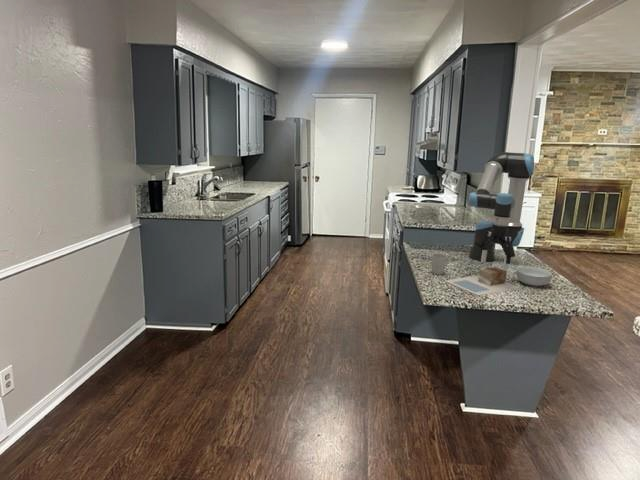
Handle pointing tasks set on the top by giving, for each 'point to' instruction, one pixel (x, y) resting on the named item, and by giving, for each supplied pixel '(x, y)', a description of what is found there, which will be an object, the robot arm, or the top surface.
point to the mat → (479, 286)
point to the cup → (438, 263)
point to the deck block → (492, 276)
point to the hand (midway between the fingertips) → (493, 266)
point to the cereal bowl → (533, 276)
